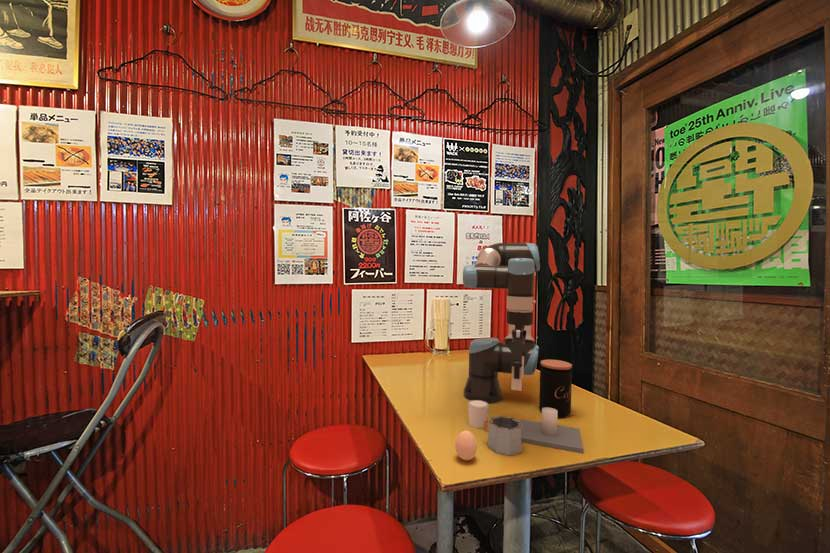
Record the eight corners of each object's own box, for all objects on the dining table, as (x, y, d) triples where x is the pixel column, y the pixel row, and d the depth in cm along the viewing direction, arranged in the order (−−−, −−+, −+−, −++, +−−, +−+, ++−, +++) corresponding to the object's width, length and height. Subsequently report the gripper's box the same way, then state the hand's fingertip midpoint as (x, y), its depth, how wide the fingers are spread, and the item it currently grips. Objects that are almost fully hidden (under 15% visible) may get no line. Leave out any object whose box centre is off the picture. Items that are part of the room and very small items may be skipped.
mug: (481, 450, 100) (481, 425, 100) (486, 436, 109) (486, 413, 109) (519, 457, 97) (520, 432, 96) (522, 442, 105) (522, 419, 105)
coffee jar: (556, 421, 121) (557, 368, 121) (532, 409, 131) (533, 361, 130) (577, 415, 126) (578, 365, 126) (553, 405, 136) (554, 358, 135)
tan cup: (465, 420, 120) (465, 399, 120) (485, 419, 121) (485, 399, 121) (470, 429, 113) (470, 407, 113) (491, 428, 114) (491, 407, 114)
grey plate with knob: (516, 441, 106) (517, 413, 106) (520, 422, 119) (520, 398, 119) (583, 453, 100) (584, 424, 100) (579, 432, 113) (579, 406, 113)
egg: (452, 462, 94) (453, 433, 93) (457, 452, 99) (458, 425, 99) (474, 467, 91) (475, 437, 91) (478, 456, 97) (479, 428, 97)
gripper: (532, 315, 91) (530, 398, 91) (533, 308, 115) (531, 373, 115) (502, 314, 94) (500, 394, 94) (509, 306, 117) (508, 371, 117)
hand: (517, 383), depth 104 cm, fingers open, 13 cm apart
